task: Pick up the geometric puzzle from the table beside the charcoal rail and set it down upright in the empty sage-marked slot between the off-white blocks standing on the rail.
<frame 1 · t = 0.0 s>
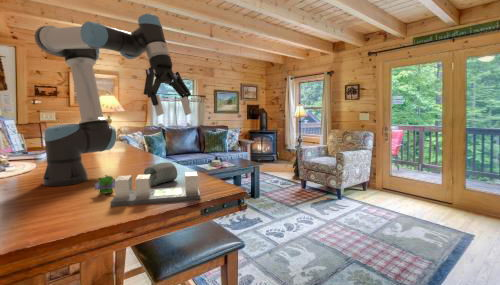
hand: (175, 114, 95), 28 cm above the table, fingers open, 13 cm apart
grey rounded lump: (161, 183, 108), on the table
finger rail: (158, 197, 90), on the table
geometric puzzle: (106, 194, 94), on the table
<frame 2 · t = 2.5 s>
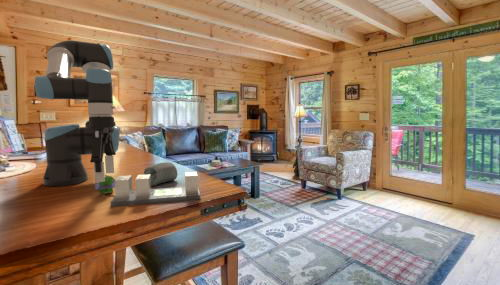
hand: (105, 177, 93), 6 cm above the table, fingers open, 13 cm apart
nothing on the table moved.
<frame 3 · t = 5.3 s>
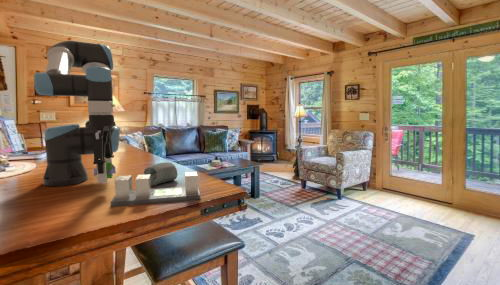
hand: (105, 178, 94), 5 cm above the table, fingers closed on geometric puzzle, 8 cm apart
geometric puzzle: (105, 180, 94), point 5 cm above the table, touching gripper
everything else where it was.
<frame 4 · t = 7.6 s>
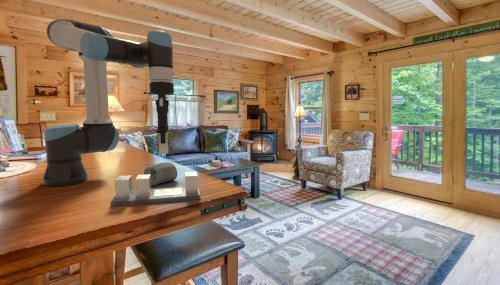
hand: (164, 151, 89), 16 cm above the table, fingers closed on geometric puzzle, 8 cm apart
geometric puzzle: (164, 152, 89), point 15 cm above the table, touching gripper
everything else where it was.
when the fingers open (2 cm above the table, at t = 10.0 s): geometric puzzle stays where it is, resting on finger rail.
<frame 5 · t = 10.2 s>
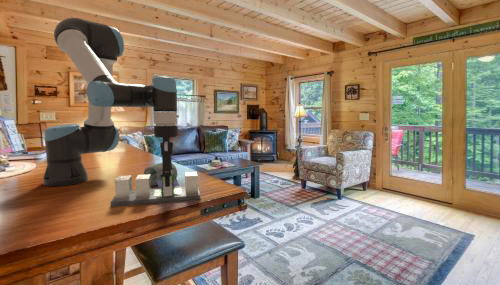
hand: (168, 191, 90), 2 cm above the table, fingers open, 8 cm apart
geometric puzzle: (168, 192, 91), point 1 cm above the table, touching finger rail
everything else where it was.
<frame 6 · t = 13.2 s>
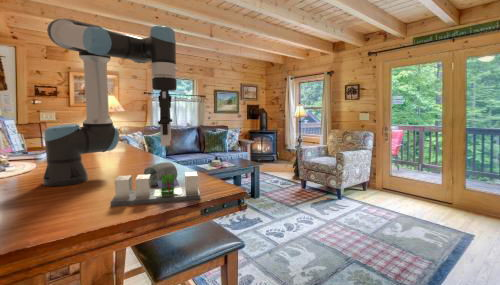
hand: (166, 142, 89), 19 cm above the table, fingers open, 13 cm apart
nothing on the table moved.
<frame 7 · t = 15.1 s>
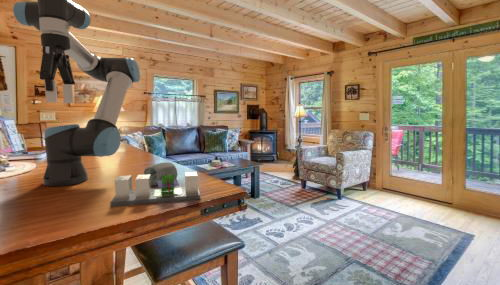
hand: (61, 102, 87), 32 cm above the table, fingers open, 13 cm apart
nothing on the table moved.
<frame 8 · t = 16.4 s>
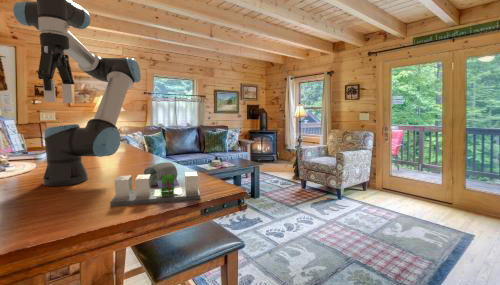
hand: (59, 102, 87), 32 cm above the table, fingers open, 13 cm apart
nothing on the table moved.
at the end: geometric puzzle 0.0 cm from the target spot on the finger rail, point 1.4 cm above the finger rail's base; geometric puzzle tilted 0°; the gripper is holding nothing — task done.
